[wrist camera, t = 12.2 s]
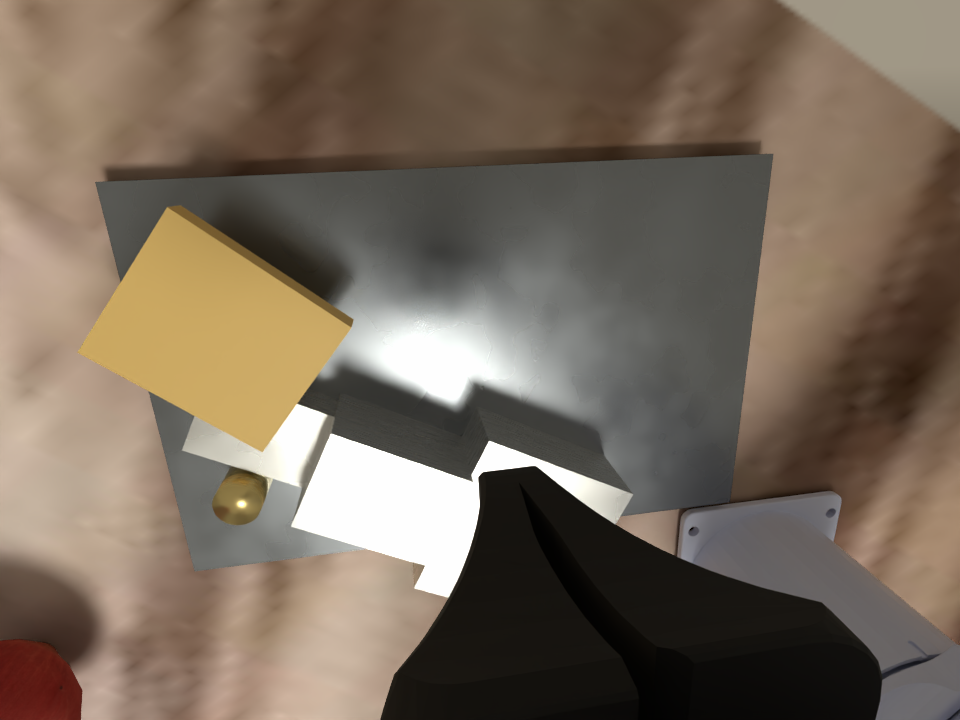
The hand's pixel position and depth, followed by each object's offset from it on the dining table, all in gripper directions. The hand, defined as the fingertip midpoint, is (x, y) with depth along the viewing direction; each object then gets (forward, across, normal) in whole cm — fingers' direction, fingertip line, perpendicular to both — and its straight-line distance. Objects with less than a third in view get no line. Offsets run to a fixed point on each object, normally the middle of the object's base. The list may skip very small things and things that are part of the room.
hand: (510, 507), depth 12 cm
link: (+9, +2, +4) cm, 10 cm away
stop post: (+9, +8, +3) cm, 13 cm away
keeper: (+9, +7, -3) cm, 12 cm away
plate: (+10, 0, 0) cm, 10 cm away
